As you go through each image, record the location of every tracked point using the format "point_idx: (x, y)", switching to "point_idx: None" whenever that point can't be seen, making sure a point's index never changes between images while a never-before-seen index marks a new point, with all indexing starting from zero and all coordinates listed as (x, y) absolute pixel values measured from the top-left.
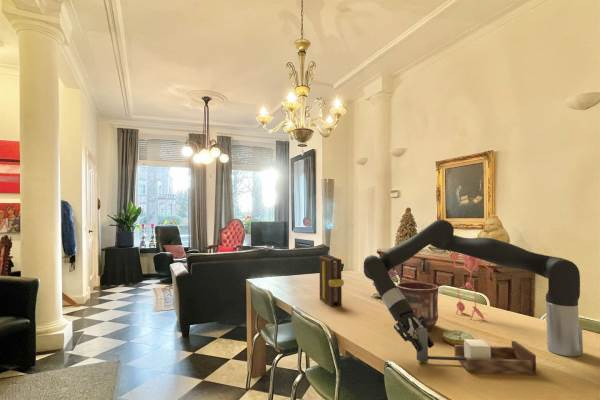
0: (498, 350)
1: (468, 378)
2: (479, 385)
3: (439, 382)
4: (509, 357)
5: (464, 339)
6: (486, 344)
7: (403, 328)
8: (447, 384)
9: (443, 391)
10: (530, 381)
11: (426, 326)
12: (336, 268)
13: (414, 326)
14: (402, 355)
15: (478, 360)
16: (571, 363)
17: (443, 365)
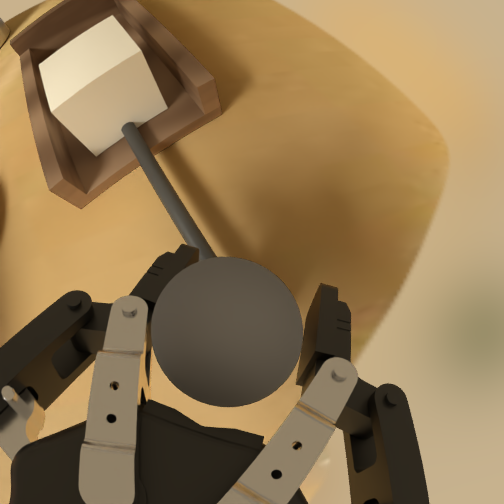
0: (37, 75)
1: (279, 101)
2: (310, 69)
3: (398, 179)
4: None
5: (54, 108)
6: (91, 31)
7: (405, 482)
8: (390, 151)
9: (444, 154)
10: (177, 5)
11: (52, 329)
12: None
13: (203, 439)
14: None
15: (190, 54)
16: (38, 16)
17: (210, 216)
